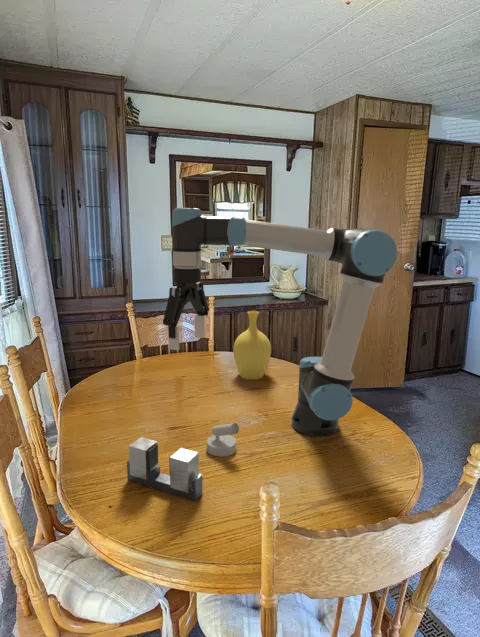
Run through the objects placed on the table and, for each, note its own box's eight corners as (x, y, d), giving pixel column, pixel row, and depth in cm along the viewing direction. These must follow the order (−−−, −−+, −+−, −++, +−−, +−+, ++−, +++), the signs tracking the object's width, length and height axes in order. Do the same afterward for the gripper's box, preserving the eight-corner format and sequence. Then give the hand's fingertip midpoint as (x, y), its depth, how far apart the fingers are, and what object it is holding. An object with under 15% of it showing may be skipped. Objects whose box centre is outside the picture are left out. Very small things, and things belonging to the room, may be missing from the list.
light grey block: (130, 474, 110) (128, 445, 109) (142, 464, 115) (141, 437, 113) (148, 480, 108) (147, 451, 106) (160, 470, 112) (159, 441, 111)
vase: (228, 370, 194) (229, 308, 188) (262, 367, 199) (264, 307, 193) (239, 383, 179) (240, 316, 173) (275, 380, 184) (278, 315, 178)
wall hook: (226, 430, 120) (200, 419, 126) (226, 461, 122) (200, 449, 128) (246, 419, 126) (220, 409, 132) (245, 449, 128) (220, 438, 134)
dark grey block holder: (204, 492, 108) (204, 453, 106) (193, 504, 103) (193, 464, 101) (137, 472, 116) (136, 435, 114) (125, 482, 111) (124, 444, 109)
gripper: (198, 262, 130) (198, 331, 135) (147, 270, 108) (149, 353, 113) (220, 263, 127) (219, 334, 132) (173, 272, 105) (174, 357, 110)
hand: (187, 343), depth 122 cm, fingers open, 13 cm apart
